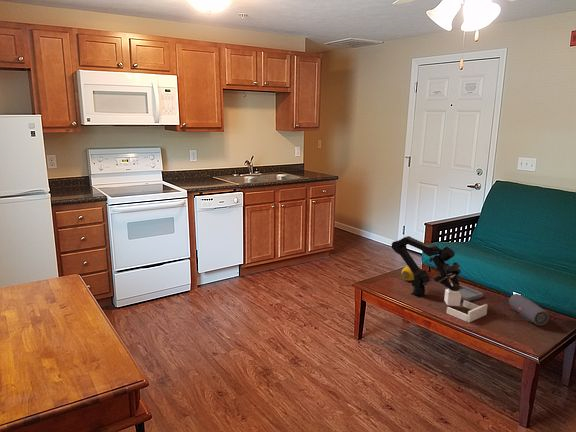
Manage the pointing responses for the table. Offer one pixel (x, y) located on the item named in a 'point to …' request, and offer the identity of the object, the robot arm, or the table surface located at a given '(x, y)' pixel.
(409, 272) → the lantern
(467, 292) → the tray
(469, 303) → the bay
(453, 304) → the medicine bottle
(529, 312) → the bluetooth speaker
